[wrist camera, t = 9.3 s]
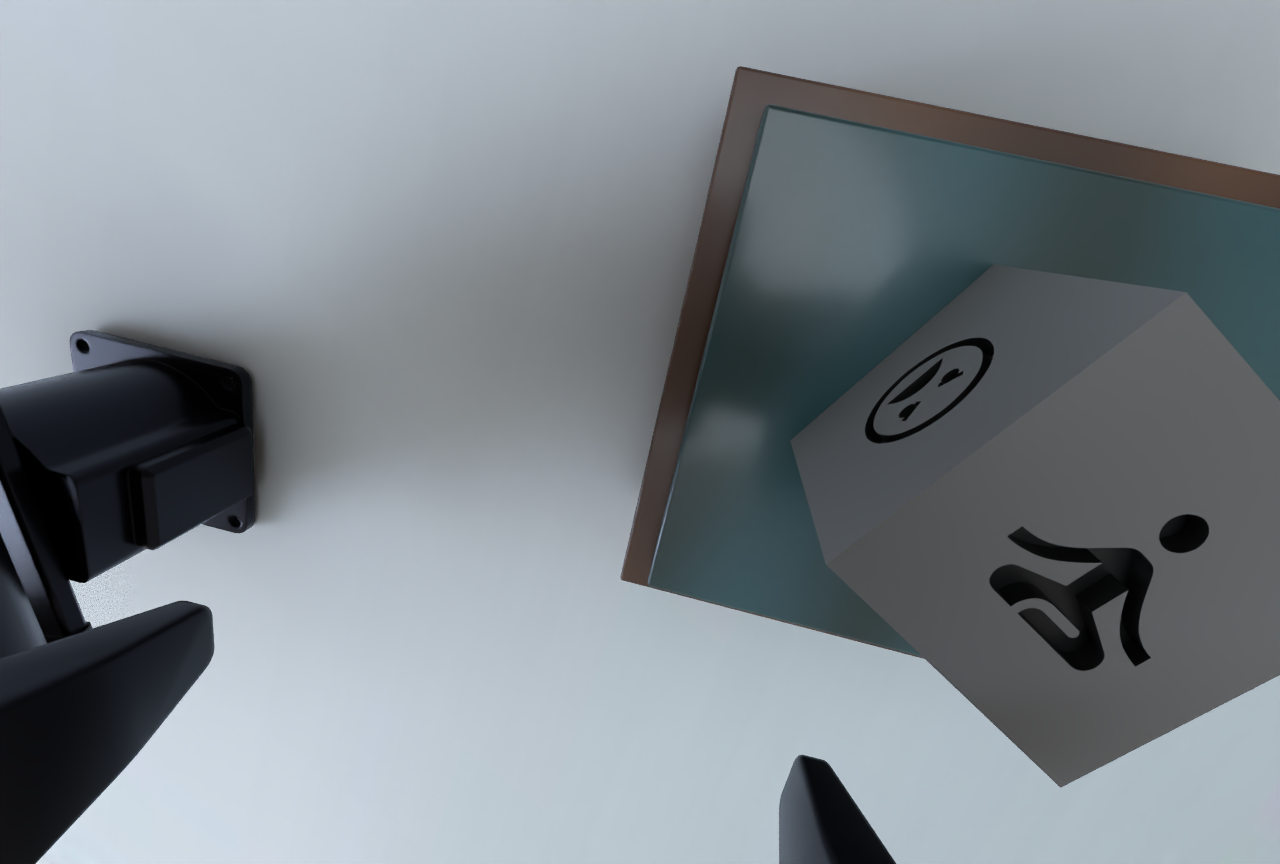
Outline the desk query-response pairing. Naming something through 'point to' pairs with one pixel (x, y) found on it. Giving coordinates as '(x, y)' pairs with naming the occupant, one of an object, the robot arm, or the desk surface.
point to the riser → (892, 302)
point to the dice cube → (1062, 509)
